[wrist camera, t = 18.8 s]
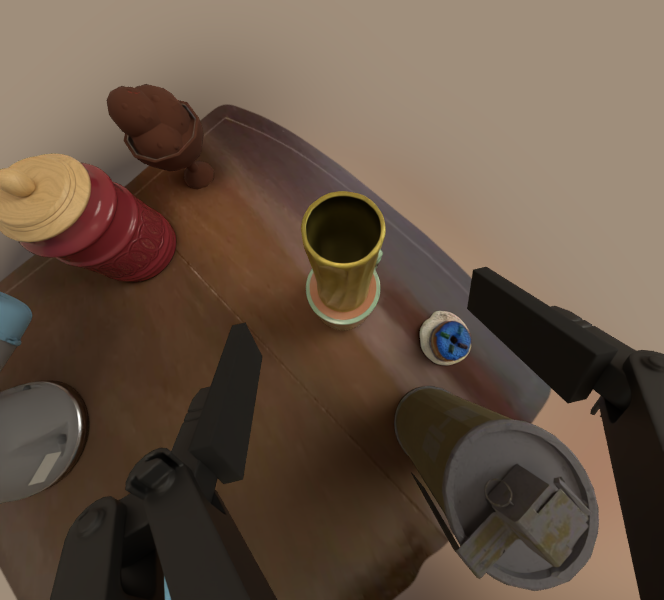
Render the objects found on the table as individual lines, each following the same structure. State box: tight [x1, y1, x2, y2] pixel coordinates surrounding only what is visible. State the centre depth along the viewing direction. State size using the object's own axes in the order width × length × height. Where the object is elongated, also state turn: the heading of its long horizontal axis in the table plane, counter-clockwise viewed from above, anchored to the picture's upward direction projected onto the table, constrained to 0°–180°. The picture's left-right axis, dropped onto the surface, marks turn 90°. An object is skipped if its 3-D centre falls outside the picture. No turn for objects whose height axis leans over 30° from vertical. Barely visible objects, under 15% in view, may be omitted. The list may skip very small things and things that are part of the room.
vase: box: [301, 191, 385, 312], centre depth 22 cm, size 6×6×14 cm
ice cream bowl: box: [107, 84, 214, 189], centre depth 37 cm, size 11×11×15 cm
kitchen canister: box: [0, 154, 176, 282], centre depth 33 cm, size 13×13×18 cm
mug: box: [306, 250, 383, 330], centre depth 34 cm, size 9×12×9 cm
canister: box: [394, 386, 599, 591], centre depth 24 cm, size 11×10×20 cm
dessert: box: [420, 311, 471, 365], centre depth 35 cm, size 8×7×6 cm
